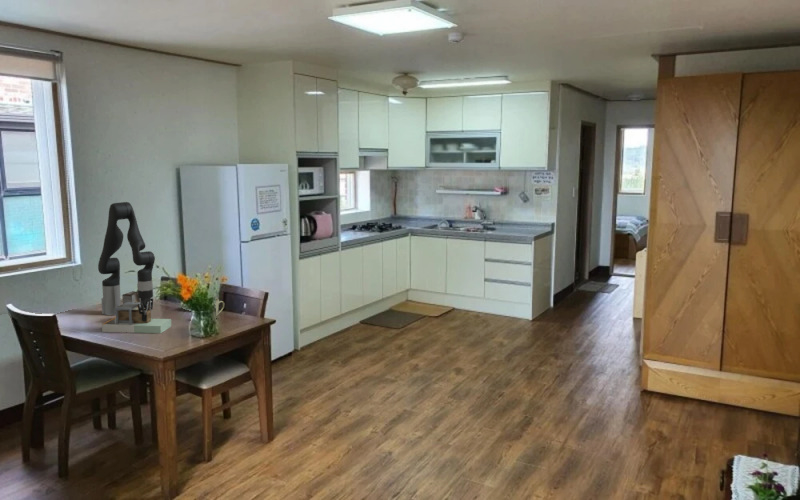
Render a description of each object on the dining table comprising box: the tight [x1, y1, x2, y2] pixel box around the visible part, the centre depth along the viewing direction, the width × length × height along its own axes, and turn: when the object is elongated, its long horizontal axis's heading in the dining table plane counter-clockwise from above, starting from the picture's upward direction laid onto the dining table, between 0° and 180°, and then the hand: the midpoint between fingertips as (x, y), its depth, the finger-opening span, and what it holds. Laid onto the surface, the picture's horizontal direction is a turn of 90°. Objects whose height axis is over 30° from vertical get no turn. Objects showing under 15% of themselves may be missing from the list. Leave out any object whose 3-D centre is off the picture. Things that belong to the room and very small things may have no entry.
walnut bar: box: [118, 310, 152, 323], centre depth 312 cm, size 16×4×6 cm, turn 90°
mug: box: [215, 297, 225, 317], centre depth 334 cm, size 11×10×12 cm
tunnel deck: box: [101, 302, 172, 334], centre depth 312 cm, size 31×14×13 cm, turn 90°
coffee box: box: [121, 291, 141, 310], centre depth 328 cm, size 9×6×16 cm
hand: (146, 319), depth 313 cm, fingers closed on walnut bar, 4 cm apart
